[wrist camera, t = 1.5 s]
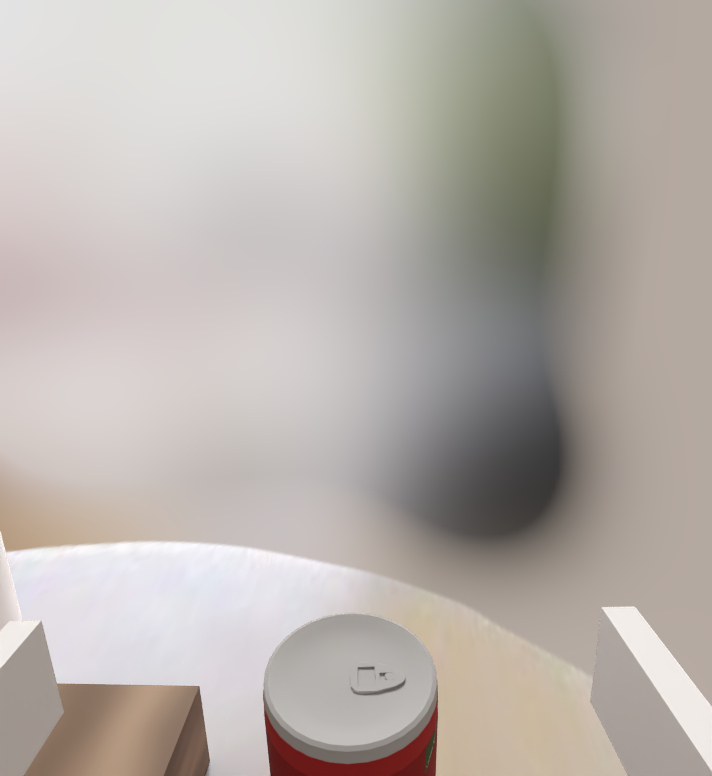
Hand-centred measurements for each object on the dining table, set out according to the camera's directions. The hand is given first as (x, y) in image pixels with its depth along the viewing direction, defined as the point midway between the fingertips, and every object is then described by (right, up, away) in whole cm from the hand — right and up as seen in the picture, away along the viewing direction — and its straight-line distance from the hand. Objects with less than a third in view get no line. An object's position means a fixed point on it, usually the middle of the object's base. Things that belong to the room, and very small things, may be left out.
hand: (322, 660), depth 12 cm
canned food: (+1, -17, +14) cm, 22 cm away
